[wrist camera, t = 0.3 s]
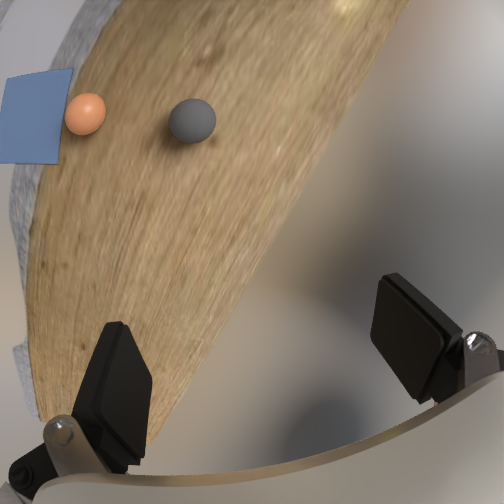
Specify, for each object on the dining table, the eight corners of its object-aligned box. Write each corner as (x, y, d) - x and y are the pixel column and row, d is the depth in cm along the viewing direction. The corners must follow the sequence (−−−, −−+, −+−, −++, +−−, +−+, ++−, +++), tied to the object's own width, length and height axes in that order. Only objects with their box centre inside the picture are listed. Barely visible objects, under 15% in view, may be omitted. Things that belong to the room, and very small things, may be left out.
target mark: (7, 78, 22) (6, 78, 22) (73, 68, 25) (73, 67, 25) (-4, 163, 27) (-5, 163, 27) (58, 164, 30) (57, 164, 30)
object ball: (80, 95, 27) (61, 91, 22) (115, 95, 28) (100, 89, 23) (73, 134, 29) (54, 135, 24) (108, 135, 30) (92, 136, 25)
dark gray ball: (176, 99, 30) (171, 92, 25) (219, 105, 31) (221, 99, 26) (168, 140, 32) (161, 141, 27) (211, 146, 33) (211, 147, 28)
